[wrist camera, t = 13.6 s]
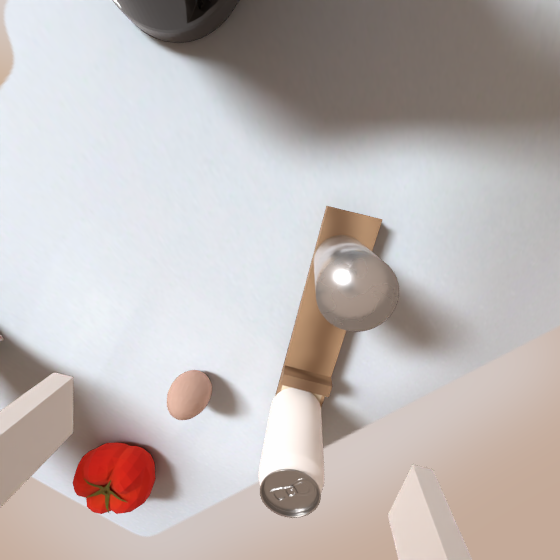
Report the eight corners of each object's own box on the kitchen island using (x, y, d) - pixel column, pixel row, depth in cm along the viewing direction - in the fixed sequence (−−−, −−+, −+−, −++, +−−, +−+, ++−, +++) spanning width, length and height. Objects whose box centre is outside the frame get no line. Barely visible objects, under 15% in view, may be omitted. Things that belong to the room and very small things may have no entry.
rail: (268, 421, 43) (263, 445, 38) (326, 205, 34) (328, 206, 30) (308, 431, 43) (308, 458, 38) (377, 218, 34) (387, 220, 30)
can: (329, 418, 39) (337, 511, 27) (284, 433, 40) (274, 528, 28) (307, 378, 37) (306, 457, 26) (262, 395, 39) (242, 478, 27)
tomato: (167, 482, 48) (145, 524, 42) (105, 482, 49) (75, 523, 43) (154, 431, 46) (129, 469, 39) (89, 433, 47) (54, 469, 41)
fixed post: (307, 280, 34) (306, 320, 23) (321, 229, 33) (328, 244, 21) (358, 292, 34) (383, 340, 23) (375, 242, 32) (411, 265, 21)
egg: (225, 378, 42) (208, 414, 35) (202, 400, 43) (181, 440, 36) (196, 354, 41) (172, 386, 34) (174, 377, 42) (147, 413, 35)
